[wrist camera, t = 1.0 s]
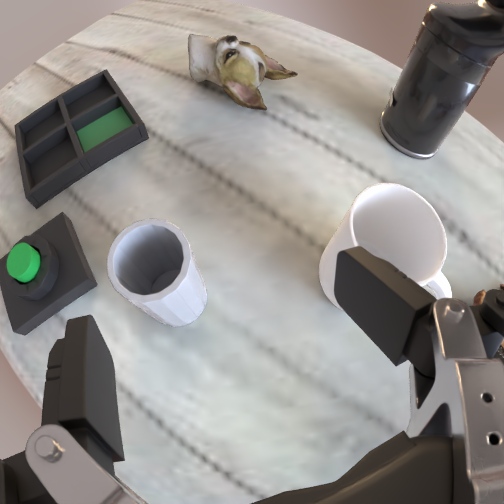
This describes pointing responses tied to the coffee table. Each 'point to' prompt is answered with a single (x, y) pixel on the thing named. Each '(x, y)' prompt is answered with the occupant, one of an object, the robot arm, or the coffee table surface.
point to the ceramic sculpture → (233, 67)
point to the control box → (47, 276)
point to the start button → (23, 262)
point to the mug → (391, 237)
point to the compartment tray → (75, 136)
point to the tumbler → (157, 272)
